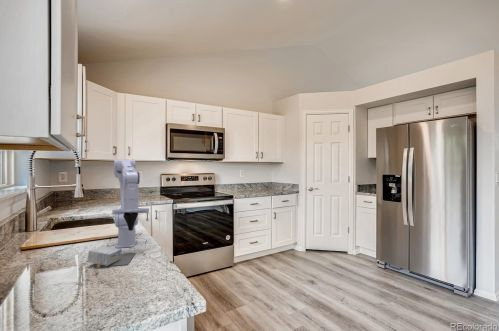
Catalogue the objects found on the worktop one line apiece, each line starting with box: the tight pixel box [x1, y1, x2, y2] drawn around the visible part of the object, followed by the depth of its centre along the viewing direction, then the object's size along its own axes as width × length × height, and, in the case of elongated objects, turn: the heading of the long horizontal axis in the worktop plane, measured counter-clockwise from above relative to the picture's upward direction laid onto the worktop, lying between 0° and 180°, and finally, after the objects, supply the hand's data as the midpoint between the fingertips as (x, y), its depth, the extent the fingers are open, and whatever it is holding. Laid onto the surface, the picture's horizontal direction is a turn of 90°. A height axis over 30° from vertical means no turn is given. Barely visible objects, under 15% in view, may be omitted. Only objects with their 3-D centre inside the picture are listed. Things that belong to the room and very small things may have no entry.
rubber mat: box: [101, 252, 137, 268], centre depth 102 cm, size 14×9×1 cm, turn 13°
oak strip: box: [96, 264, 103, 270], centre depth 100 cm, size 14×1×1 cm, turn 13°
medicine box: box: [86, 245, 123, 266], centre depth 98 cm, size 8×4×9 cm
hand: (130, 230), depth 109 cm, fingers closed
